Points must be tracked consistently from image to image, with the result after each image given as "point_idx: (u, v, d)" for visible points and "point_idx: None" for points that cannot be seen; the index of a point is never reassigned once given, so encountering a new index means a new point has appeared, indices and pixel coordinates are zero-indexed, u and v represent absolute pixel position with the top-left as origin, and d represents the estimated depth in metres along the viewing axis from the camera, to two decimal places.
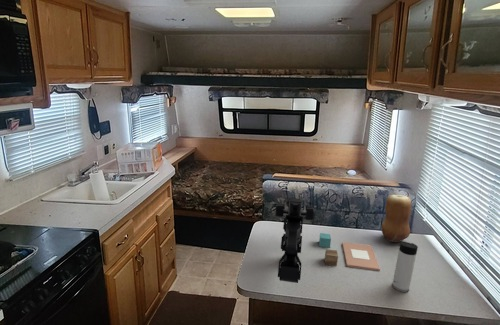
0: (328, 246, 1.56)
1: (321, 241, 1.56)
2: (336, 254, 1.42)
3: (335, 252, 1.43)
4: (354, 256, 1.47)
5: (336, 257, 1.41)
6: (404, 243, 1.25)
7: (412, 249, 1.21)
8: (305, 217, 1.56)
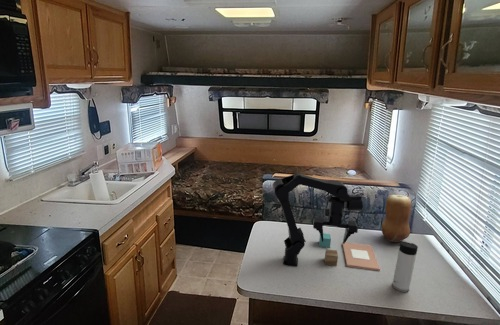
0: (328, 246, 1.56)
1: (321, 241, 1.56)
2: (336, 254, 1.42)
3: (335, 252, 1.43)
4: (354, 256, 1.47)
5: (336, 257, 1.41)
6: (404, 243, 1.25)
7: (412, 249, 1.21)
8: (347, 232, 1.37)
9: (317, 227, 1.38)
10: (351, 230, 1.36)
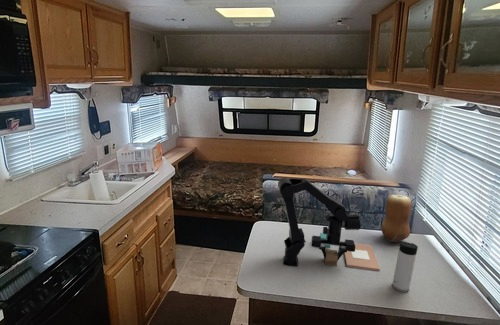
0: (328, 246, 1.56)
1: None
2: (336, 254, 1.42)
3: (335, 252, 1.43)
4: (354, 256, 1.47)
5: (337, 257, 1.41)
6: (404, 243, 1.25)
7: (412, 249, 1.21)
8: (341, 250, 1.39)
9: (315, 245, 1.40)
10: (349, 249, 1.38)
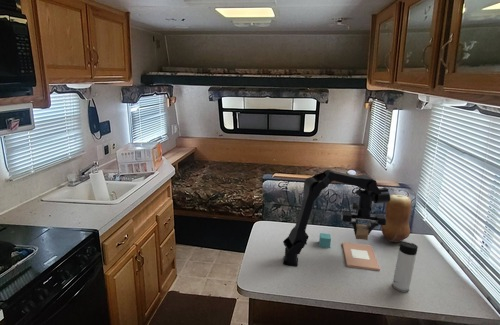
0: (328, 246, 1.56)
1: (321, 241, 1.56)
2: (366, 228, 1.44)
3: (365, 226, 1.45)
4: (354, 256, 1.47)
5: (367, 231, 1.42)
6: (404, 243, 1.25)
7: (412, 249, 1.21)
8: (371, 224, 1.41)
9: (346, 220, 1.42)
10: (380, 223, 1.40)
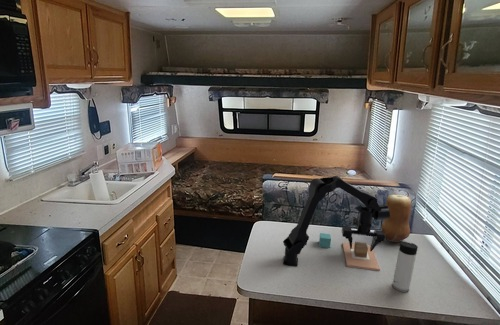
0: (328, 246, 1.56)
1: (321, 241, 1.56)
2: (366, 246, 1.47)
3: (364, 244, 1.48)
4: (354, 256, 1.47)
5: (366, 249, 1.46)
6: (404, 243, 1.25)
7: (412, 249, 1.21)
8: (375, 240, 1.44)
9: (346, 235, 1.45)
10: (379, 239, 1.43)
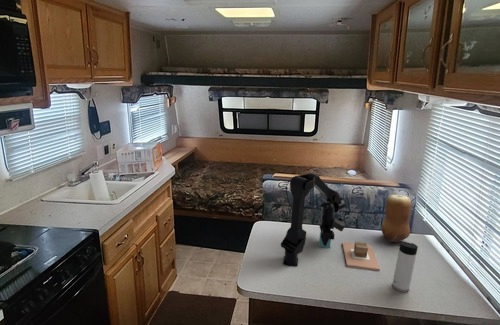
0: (328, 246, 1.56)
1: (321, 241, 1.56)
2: (366, 246, 1.47)
3: (364, 244, 1.48)
4: (354, 256, 1.47)
5: (366, 249, 1.46)
6: (404, 243, 1.25)
7: (412, 249, 1.21)
8: None
9: (319, 220, 1.64)
10: (320, 233, 1.51)
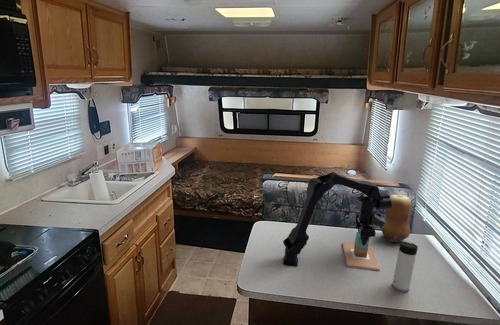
0: (366, 246, 1.45)
1: (359, 241, 1.45)
2: None
3: None
4: (354, 256, 1.47)
5: (366, 249, 1.46)
6: (404, 243, 1.25)
7: (412, 249, 1.21)
8: (360, 231, 1.41)
9: (355, 216, 1.53)
10: (359, 230, 1.39)
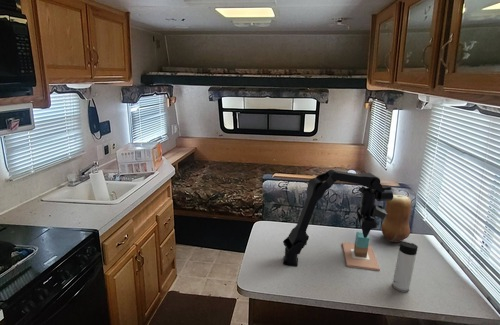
0: (366, 246, 1.45)
1: (359, 241, 1.45)
2: None
3: None
4: (354, 256, 1.47)
5: (366, 249, 1.46)
6: (404, 243, 1.25)
7: (412, 249, 1.21)
8: (361, 223, 1.40)
9: (356, 209, 1.52)
10: (361, 222, 1.38)
